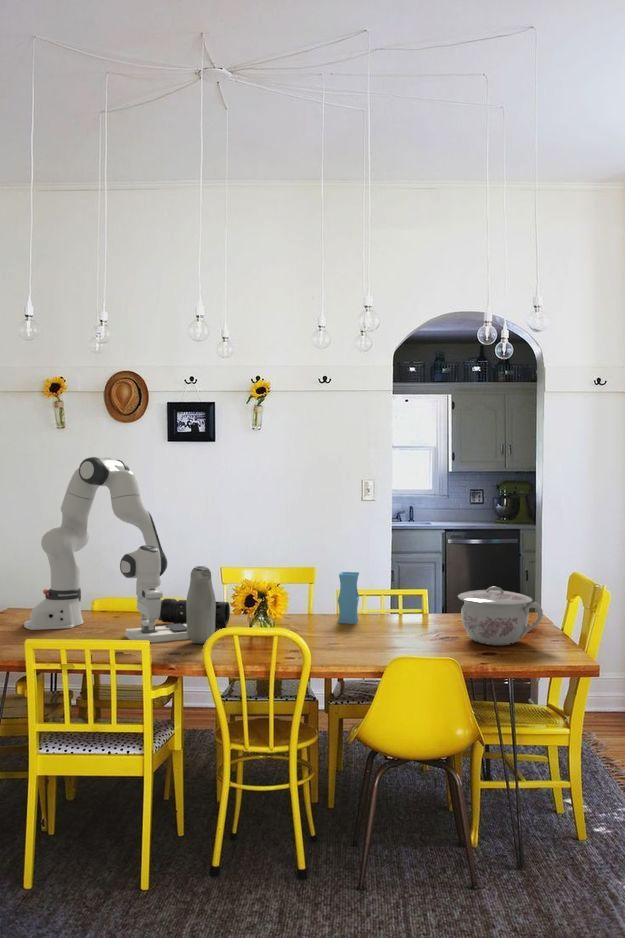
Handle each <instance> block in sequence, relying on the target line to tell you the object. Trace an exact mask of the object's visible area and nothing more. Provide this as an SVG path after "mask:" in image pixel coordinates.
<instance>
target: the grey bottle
mask: <svg viewBox="0 0 625 938" xmlns="http://www.w3.org/2000/svg"><path fill="white" fill-rule="evenodd" d="M189 576H190V580H189V581H190V582H189V587H188V589H187V590H188V591H187V595H186V600H187V601H186V613H187V634H188V637H189V639H188V640H190V641H191V642H192V643H194V644H197V645H205V644H206V643H205V642H206V640H207V639H208V638H209V637H210V636H211V635H212V634H213V633H214V634H215V631H216V626H215V611H216V602H217V601H216V594H215V590H214V588H213V587H214V586H213V581H212V572H211V570H210V568H209V567H207V566H204V565H203V566H202V565H197V566H195V567H193V568H192V570H191V572H190V575H189Z"/></svg>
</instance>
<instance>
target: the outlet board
mask: <svg viewBox="0 0 625 938" xmlns="http://www.w3.org/2000/svg"><path fill="white" fill-rule="evenodd" d="M141 630H142V627H137V628H126V629H125V638H127V639H129V640H130V641H131V640H149V641H150V642H151V643H160V642H162V643H163V642H171V641H180V640H181V641H182V640H190V639H189V637H188V634H187V624H186V623H183V624H181V623H179V624H174V623H169V624H165V625H159V626H155V633H145V634H143V633H142V632H141ZM151 643H150V644H151Z"/></svg>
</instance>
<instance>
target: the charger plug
mask: <svg viewBox="0 0 625 938" xmlns="http://www.w3.org/2000/svg"><path fill="white" fill-rule="evenodd" d="M148 625H149V619H147V620H144V621H142V620H141V628H142V630H141V632H142V633H143V634H145V633H155V627H156V622H155V623H154V629H153V630H149V629H148Z"/></svg>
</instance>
